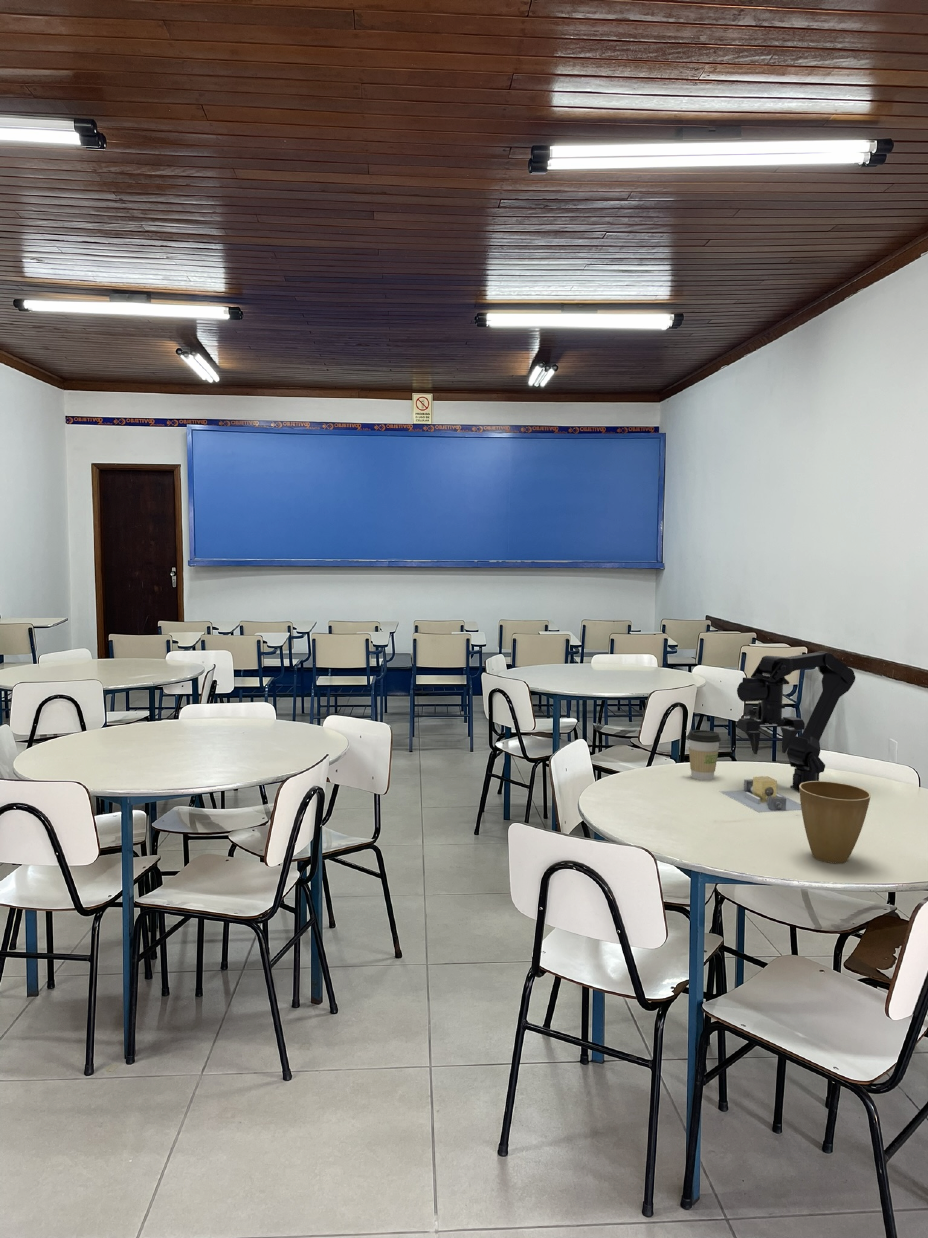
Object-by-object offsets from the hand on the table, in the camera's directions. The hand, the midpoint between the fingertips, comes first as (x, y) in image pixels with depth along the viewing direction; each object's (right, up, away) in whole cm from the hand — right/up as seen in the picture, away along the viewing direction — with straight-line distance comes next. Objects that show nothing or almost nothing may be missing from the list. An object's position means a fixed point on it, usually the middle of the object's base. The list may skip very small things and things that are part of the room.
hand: (769, 753), depth 244 cm
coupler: (-5, -11, -9) cm, 16 cm away
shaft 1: (-5, -11, -3) cm, 12 cm away
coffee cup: (-15, -11, +14) cm, 23 cm away
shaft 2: (-5, -12, -16) cm, 21 cm away
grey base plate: (-5, -13, -9) cm, 16 cm away
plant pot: (-4, -16, -51) cm, 54 cm away
